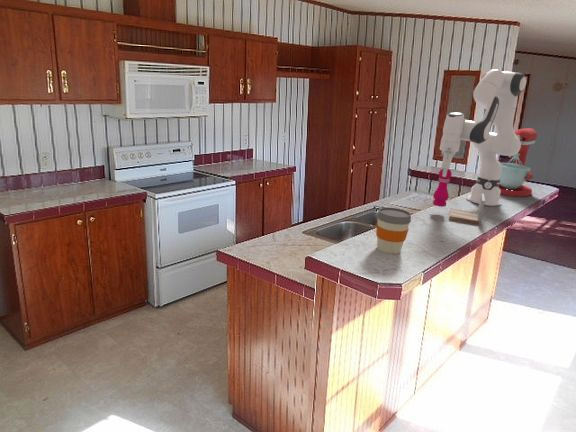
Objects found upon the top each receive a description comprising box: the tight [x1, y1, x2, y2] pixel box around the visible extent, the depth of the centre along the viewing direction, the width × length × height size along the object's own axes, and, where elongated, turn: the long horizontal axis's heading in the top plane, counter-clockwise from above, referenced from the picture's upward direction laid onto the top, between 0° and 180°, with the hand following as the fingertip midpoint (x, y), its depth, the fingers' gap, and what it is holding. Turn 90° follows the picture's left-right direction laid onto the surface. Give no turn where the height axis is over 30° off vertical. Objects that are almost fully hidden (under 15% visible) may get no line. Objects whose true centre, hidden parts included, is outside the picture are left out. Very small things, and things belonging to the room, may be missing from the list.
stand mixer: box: [498, 127, 538, 197], centre depth 292 cm, size 24×32×40 cm
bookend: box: [448, 193, 485, 226], centre depth 227 cm, size 16×14×12 cm
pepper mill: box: [432, 168, 452, 208], centre depth 229 cm, size 7×7×20 cm
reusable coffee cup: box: [375, 207, 412, 255], centre depth 177 cm, size 13×13×15 cm
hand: (444, 175), depth 228 cm, fingers closed on pepper mill, 6 cm apart
